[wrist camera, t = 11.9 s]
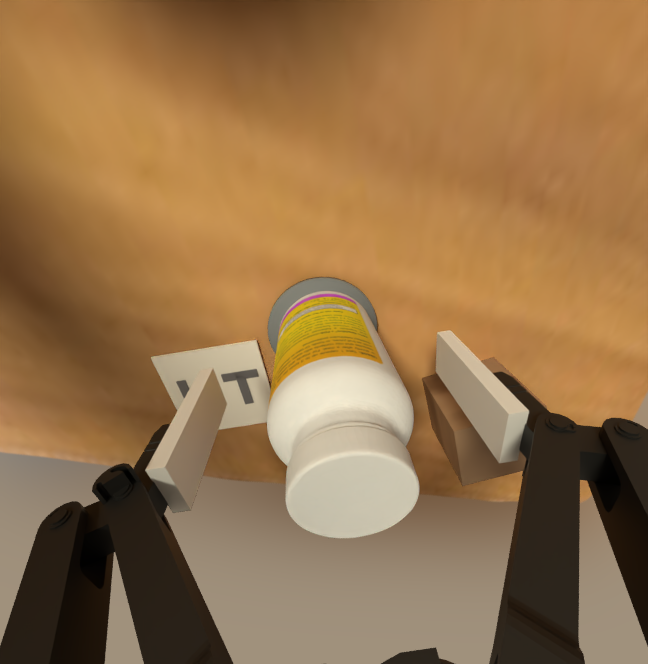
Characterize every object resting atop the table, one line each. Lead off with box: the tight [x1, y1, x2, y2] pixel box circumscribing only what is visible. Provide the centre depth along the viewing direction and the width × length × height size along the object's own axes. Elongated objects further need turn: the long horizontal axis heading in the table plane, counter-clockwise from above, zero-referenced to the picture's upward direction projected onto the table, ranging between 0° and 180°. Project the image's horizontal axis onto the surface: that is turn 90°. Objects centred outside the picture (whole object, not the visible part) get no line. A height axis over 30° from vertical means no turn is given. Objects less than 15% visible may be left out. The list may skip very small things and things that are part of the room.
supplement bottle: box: [267, 291, 420, 538], centre depth 16 cm, size 7×7×13 cm
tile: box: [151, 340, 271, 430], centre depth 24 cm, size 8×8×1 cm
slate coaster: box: [268, 277, 377, 354], centre depth 22 cm, size 8×8×1 cm
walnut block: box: [422, 357, 547, 486], centre depth 23 cm, size 6×6×6 cm
